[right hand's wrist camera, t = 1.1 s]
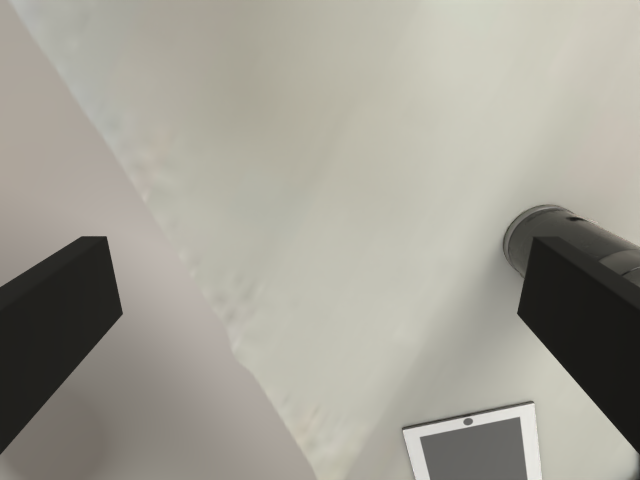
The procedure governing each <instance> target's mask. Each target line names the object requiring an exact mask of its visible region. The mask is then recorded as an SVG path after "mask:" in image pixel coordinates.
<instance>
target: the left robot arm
mask: <svg viewBox="0 0 640 480" xmlns="http://www.w3.org/2000/svg"><path fill="white" fill-rule="evenodd" d="M585 219H586V220H585ZM587 220H589V221H592V222H595V221H593V220H590V219H587V218H584V217H581V216H578V215H575V214H573V213H572V212H570V211H569V210H567V209H565V208H562V207H560V206H556V205H542V206H538V207H534V208H532V209H529V210H528V211H526V212H524V213H523V214H521V215H520V216H519V217H518V218H517V219H515V221H514V222H513V223H512V224H511V226H510V227H509V229H508V231H507V233H506V235H505V239H504V253H505V256H506V259H507V260H508V262H509V263H510V264H511V265H512V266H513V267H514V268H515V269H516V270H517V271H518V272H520V273H521V276H522V278H523V279H525V274H526V269H527V265H528V260H529V255H530V250H531V245H532V241H533V236H558V237H560V238H562V239H563V240H565V241H566V242H568V243H570V244H571V245H573V246H574V247H576V248H578V249H579V250H581V251H582V252H584V253H586V254H587V255H589V256H590V257H592V258H594V259H595V260H597V261H598V262H600V263H602V264H603V265H605V266H606V267H608V268H610V269H611V270H613V271H614V272H616V273H618V274H619V275H621V276H623V277H624V278H626V279H627V280H629V281H631V282H632V283H634V284H635V285H637V286H639V287H640V247H639V246H637V245H635V244H633V243H631V242H629V241H627V240H625V239H623V238H621V237H619V236H617V235H615V234H613V233H611V232H609V231H607V230H605V229H603V228H601V227H599V226H597V225H595V224H593V223H591V222H589V221H587ZM595 223H597V222H595ZM598 224H599V223H598Z"/></svg>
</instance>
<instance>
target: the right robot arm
mask: <svg viewBox="0 0 640 480" xmlns="http://www.w3.org/2000/svg"><path fill="white" fill-rule="evenodd" d="M122 314H123V312H122V308H121V303H120V298H119V293H118V289H117V284H116V279H115V274H114V269H113V265H112V260H111V255H110V250H109V245H108V241H107V237H106V236H82V237H80V238H78V239H77V240H75V241H74V242H72V243H70V244H69V245H67V246H66V247H64V248H62V249H61V250H59V251H58V252H56V253H54V254H53V255H51V256H50V257H48V258H46V259H45V260H43V261H42V262H40V263H38V264H37V265H35V266H34V267H32V268H30V269H29V270H27V271H26V272H24V273H22V274H21V275H19V276H17V277H16V278H14V279H13V280H11V281H10V282H8V283H6V284H5V285H3V286H1V287H0V454H1V453H2V452H3V451H4V450H5V449H6V447H7V446H8V445H9V444H10V443H11V442H12V440H13V439H14V438H15V437H16V436H17V435H18V434H19V433H20V431H21V430H22V429H23V428H24V427H25V426H26V425H27V423H28V422H29V421H30V420H31V419H32V418H33V416H34V415H35V414H36V413H37V412H38V411H39V410H40V408H41V407H42V406H43V405H44V404H45V403H46V402H47V400H48V399H49V398H50V397H51V396H52V395H53V393H54V392H55V391H56V390H57V389H58V388H59V387H60V385H61V384H62V383H63V382H64V381H65V380H66V379H67V377H68V376H69V375H70V374H71V373H72V372H73V371H74V369H75V368H76V367H77V366H78V365H79V364H80V362H81V361H82V360H83V359H84V358H85V357H86V356H87V354H88V353H89V352H90V351H91V350H92V349H93V348H94V346H95V345H96V344H97V343H98V342H99V341H100V340H101V338H102V337H103V336H104V335H105V334H106V333H107V331H108V330H109V329H110V328H111V327H112V326H113V325H114V323H115V322H116V321H117V320H118V319H119V318H120V317H121V315H122ZM517 314H518V315H519V317H520V318H521V319H522V320H523V321H524V322H525V323H526V325H527V326H528V327H529V328H530V329H531V330H532V332H533V333H534V334H535V335H536V336H537V337H538V338H539V340H540V341H541V342H542V343H543V344H544V345H545V346H546V348H547V349H548V350H549V351H550V352H551V353H552V354H553V356H554V357H555V358H556V359H557V360H558V361H559V363H560V364H561V365H562V366H563V367H564V368H565V369H566V371H567V372H568V373H569V374H570V375H571V376H572V377H573V379H574V380H575V381H576V382H577V383H578V384H579V385H580V387H581V388H582V389H583V390H584V391H585V392H586V394H587V395H588V396H589V397H590V398H591V399H592V400H593V402H594V403H595V404H596V405H597V406H598V407H599V408H600V410H601V411H602V412H603V413H604V414H605V415H606V416H607V418H608V419H609V420H610V421H611V422H612V423H613V425H614V426H615V427H616V428H617V429H618V430H619V431H620V433H621V434H622V435H623V436H624V437H625V438H626V439H627V441H628V442H629V443H630V444H631V445H632V446H633V447H634V449H635V450H636V451H637V452H638V453H639V454H640V287H639V286H637V285H635V284H634V283H632V282H631V281H629V280H627V279H626V278H624V277H623V276H621V275H619V274H618V273H616V272H614V271H613V270H611V269H610V268H608V267H606V266H605V265H603V264H602V263H600V262H598V261H597V260H595V259H594V258H592V257H590V256H589V255H587V254H586V253H584V252H582V251H581V250H579V249H578V248H576V247H574V246H573V245H571V244H570V243H568V242H566V241H565V240H563V239H562V238H560V237H558V236H533V241H532V245H531V250H530V255H529V260H528V265H527V269H526V274H525V279H524V284H523V288H522V293H521V298H520V303H519V308H518V312H517Z"/></svg>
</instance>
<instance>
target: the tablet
mask: <svg viewBox="0 0 640 480" xmlns="http://www.w3.org/2000/svg"><path fill="white" fill-rule="evenodd" d="M402 430H403V434H404V438H405V442H406V445H407V449H408V453H409V457H410V461H411V464H412V468H413V472H414V476H415V479H416V480H542V474H541V464H540V455H539V445H538V435H537V426H536V416H535V406H534V402H533V401H532V402H528V403H523V404H518V405H513V406H508V407H503V408H498V409H494V410H489V411H484V412H479V413H474V414H469V415H465V416H460V417H455V418H450V419H445V420H440V421H436V422H431V423H426V424H421V425H416V426H411V427H406V428H402Z"/></svg>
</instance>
